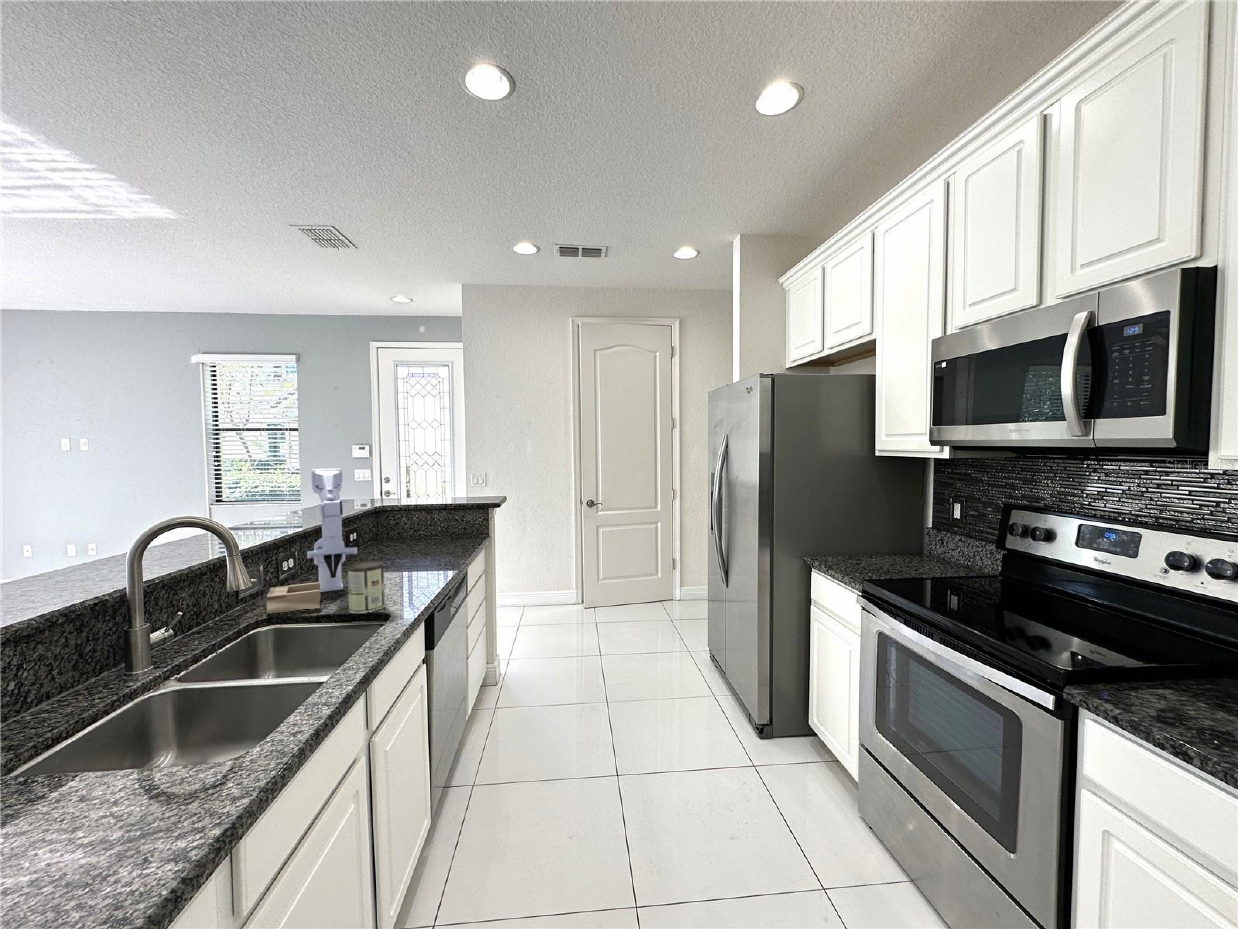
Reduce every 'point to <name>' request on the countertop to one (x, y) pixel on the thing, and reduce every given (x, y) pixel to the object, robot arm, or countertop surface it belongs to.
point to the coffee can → (365, 586)
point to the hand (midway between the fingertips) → (333, 577)
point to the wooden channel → (293, 597)
